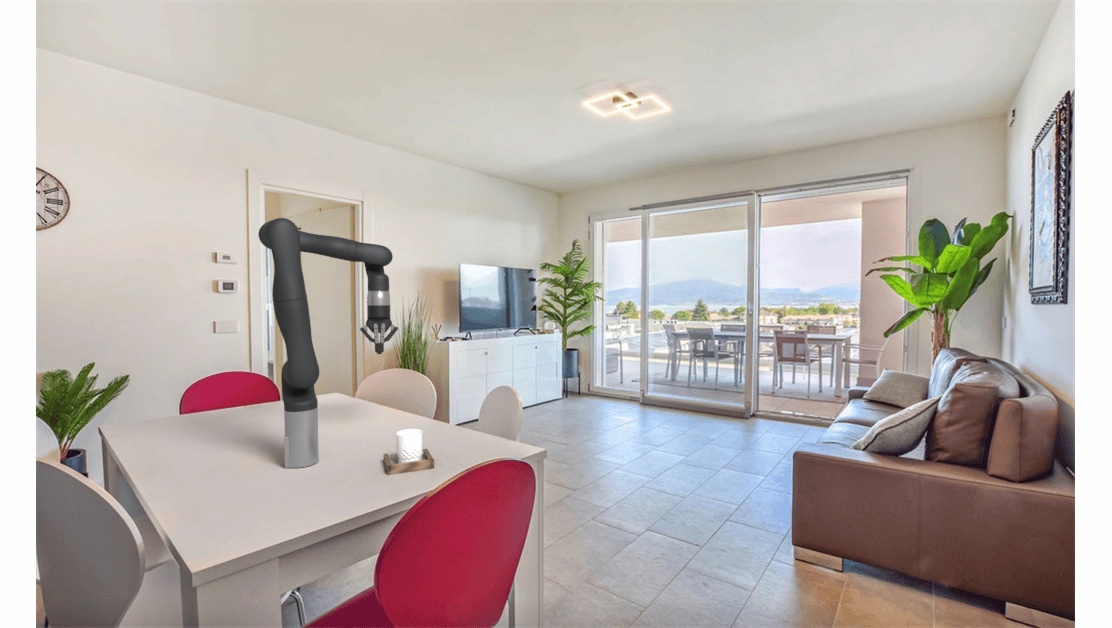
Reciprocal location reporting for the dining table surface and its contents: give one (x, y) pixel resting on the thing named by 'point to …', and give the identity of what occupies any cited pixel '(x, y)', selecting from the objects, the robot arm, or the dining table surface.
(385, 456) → the wooden bracket
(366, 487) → the dining table surface
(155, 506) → the dining table surface
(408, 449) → the white cup
